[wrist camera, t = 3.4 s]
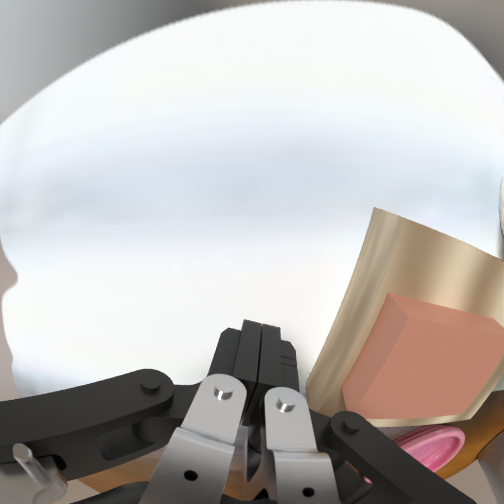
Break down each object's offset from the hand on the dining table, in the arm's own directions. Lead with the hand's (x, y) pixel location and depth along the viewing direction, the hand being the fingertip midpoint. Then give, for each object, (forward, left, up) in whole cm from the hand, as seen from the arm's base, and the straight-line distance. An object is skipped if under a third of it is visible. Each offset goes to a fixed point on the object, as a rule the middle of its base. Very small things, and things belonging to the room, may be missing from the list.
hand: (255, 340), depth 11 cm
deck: (-13, 0, -6) cm, 14 cm away
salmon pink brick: (-10, 0, -2) cm, 10 cm away
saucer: (-22, +16, -6) cm, 28 cm away
